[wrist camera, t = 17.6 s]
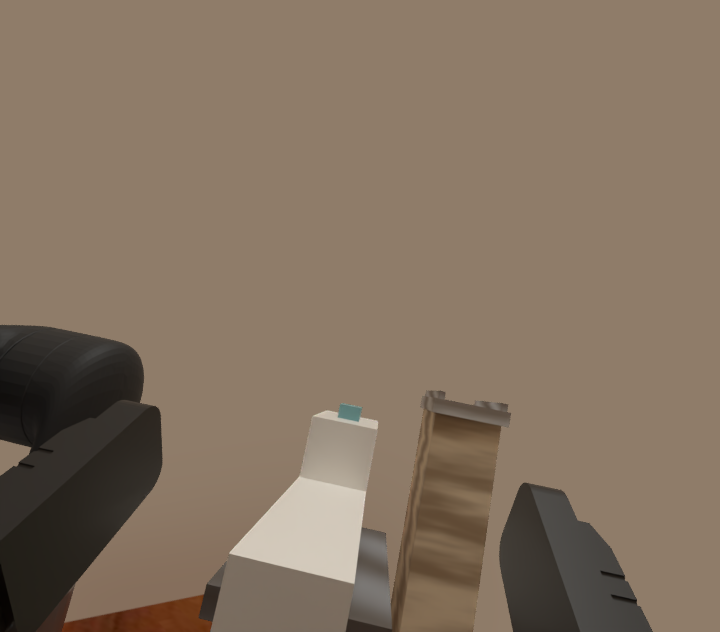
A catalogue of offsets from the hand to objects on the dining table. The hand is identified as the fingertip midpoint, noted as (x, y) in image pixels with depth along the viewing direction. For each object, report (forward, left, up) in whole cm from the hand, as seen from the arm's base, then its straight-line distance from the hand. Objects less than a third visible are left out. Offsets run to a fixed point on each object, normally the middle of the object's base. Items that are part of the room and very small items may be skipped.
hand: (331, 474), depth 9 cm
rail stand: (-11, +41, -32) cm, 53 cm away
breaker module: (-9, +14, -9) cm, 19 cm away
